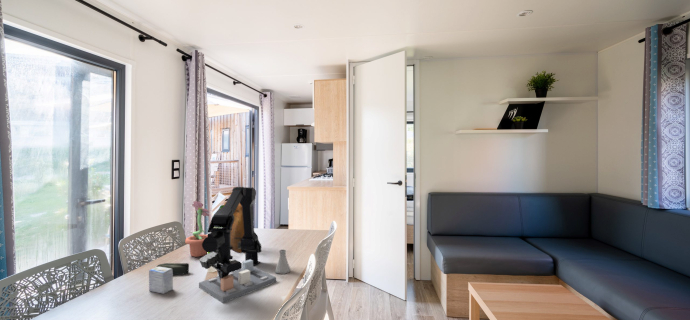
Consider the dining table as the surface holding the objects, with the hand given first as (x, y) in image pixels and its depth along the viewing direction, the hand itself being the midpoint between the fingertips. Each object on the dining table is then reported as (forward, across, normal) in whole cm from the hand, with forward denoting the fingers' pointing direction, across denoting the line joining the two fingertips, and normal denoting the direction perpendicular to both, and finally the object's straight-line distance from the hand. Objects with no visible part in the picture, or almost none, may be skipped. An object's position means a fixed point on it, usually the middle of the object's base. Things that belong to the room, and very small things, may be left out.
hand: (222, 283), depth 116 cm
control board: (+4, -1, +8) cm, 8 cm away
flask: (+4, +2, +28) cm, 29 cm away
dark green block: (+4, -35, -7) cm, 36 cm away
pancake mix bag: (+4, -43, +30) cm, 53 cm away
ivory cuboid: (+1, +3, +7) cm, 8 cm away
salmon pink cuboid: (+1, +3, 0) cm, 4 cm away
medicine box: (+4, -20, -16) cm, 26 cm away
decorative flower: (+4, -51, +14) cm, 53 cm away
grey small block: (+1, -6, +15) cm, 16 cm away
